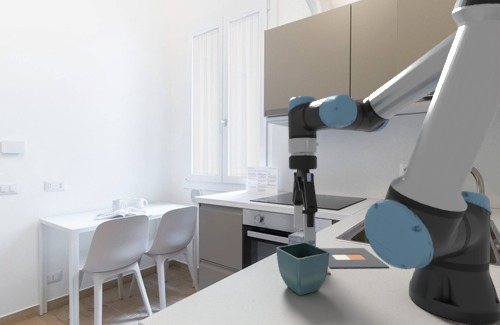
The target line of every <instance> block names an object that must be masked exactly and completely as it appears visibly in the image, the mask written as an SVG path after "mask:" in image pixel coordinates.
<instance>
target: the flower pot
mask: <svg viewBox="0 0 500 325" xmlns="http://www.w3.org/2000/svg"><path fill="white" fill-rule="evenodd" d="M320 248H321V247H317V245H316V246H313V245H311V244H309V243H306V242H303V243H297V244H292V245H281V246H278V247H275V251H276V257H277V266H278V271H279V273H280V277H281V278H282V280H283V282H284V284H285V285H286V287H287V288H288V289H290V290H291V291H293V292H294V293H296V295H297V294H298V295H299V296H304V295H306V294H310V293H314V292H317V291H318V290H320V288H321V287H322V286H323V285H324V282H325V280H326V277H327V275H328V274H327V270H329V267H328V263H329V255H330V253H329V252H328V251H325V250H323V249H320Z"/></svg>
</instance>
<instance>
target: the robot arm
mask: <svg viewBox="0 0 500 325" xmlns="http://www.w3.org/2000/svg"><path fill="white" fill-rule="evenodd" d="M450 16H451V18H452V20H453V21H454V23H455V24H456V25H457V30H455V31H454V32H452V33H451V34H449V35H448V36H447V37H446V38H445V39H443V40H442V41H440V42H439V43H438V44H436V45H435V46H434V47H433V48H431V49H430V50H429V51H427V52H426V53H424V54H423V55H422V56H421V57H419V58H418V59H416V60H415V61H414V62H412V63H411V64H409V65H408V66H407V67H406V68H405V69H404V70H402V71H401V72H399V73H398V74H396V75H395V76H394V77H392V78H391V79H390V80H389V81H387V82H386V83H385V84H383V85H382V86H381V87H379V88H378V89H376V91H373V93H371V94H369V96H367V97H366V98H364V99H363V100H361V101H358V100H355V99H353V98H352V97H351V96H350V95H348V94H347V93H341V94H332V95H329V96H328V97H325V98H322V99H318V100H316V98H315V97H314V96H311V95H300V96H294V97H291V98H290V100H288V112H287V118H288V119H287V120H288V121H287V123H288V124H287V125H288V127H287V128H288V154H289V157H288V168H289V170H292V171H293V170H296V171H294V172H293V185H292V187H293V188H292V199H291V202H292V204H293V229H303V230H304V240H315V232H316V213H318V211H319V209H318V202H317V195H316V188H315V175H314V174H315V173H313V172H310V170H316V169H318V157H317V155H315V154H316V153H317V147H318V146H319V144H320V143H319V142H317V136H318V135H317V132H319V131H325V130H326V131H327V130H336V131H354V132H362V133H376V132H380V131H382V130H384V129H385V128H386V127H387V125H388V124H389V123H390V119H391V118H392V117H395V115H398V113H401V112H402V111H404V110H405V109H407V108H408V107H410V106H412V105H413V104H416V103H417V102H418V101H419V100H421V99H423V98H425V97H426V96H428V95H430V94H431V93H433V92H434V93H433V96H432V98H431V101H430V104H429V106H428V109H427V111H426V115H425V117H424V119H423V123H422V125H421V128H420V130H419V133H418V135H417V139H416V141H415V144H414V147H413V149H412V153H411V154H410V156H409V160H408V163H407V166H406V168H405V172H404V174H402V175H401V176H398V177H396V178H394V179H391V181H390V183H389V186H388V189H387V192H386V194H385V197H384V199H380V200H379V201H377V202H375V203H373V204H372V205H371V206H370V207H369V208H368V209H367V211H366V213H365V216H364V220H363V221H364V223H363V227H364V233H365V237H366V239H368V242H369V245H370V248H371V249H372V251H373V252H374V253H375V255H377V257H378V258H380V259H381V261H382V262H384V263H385V264H386V263H387V264H388V266H389V265H390V266H391V267H394V268H397V269H400V270H410V269H414V271H413V273H412V277H411V279H410V280H409V283H408V295H409V298H410V299H411V301H413V303H414V304H416V305H417V306H418V307H420V308H421V309H424V310H425V311H428V312H430V313H431V314H434V315H436V316H439V317H442V318H445V319H448V320H452V321H455V322H461V323H466V324H476V325H487V324H493V323H496V322H498V321H500V298H499V297H498V293H497V290H496V287H495V284H494V281H493V279H492V277H491V272H490V259H491V258H490V253H491V252H490V250H491V248H490V247H491V215H492V210H491V202H490V198H489V197H488V196H487V195H486V194H485V193H481V192H475V191H468V190H467V191H466V190H463V189H464V187H465V185H466V183H467V180H468V179H469V176H470V174H471V172H472V169H473V167H474V166H475V163H476V161H477V158H478V156H479V154H480V151H481V150H482V147H483V145H484V143H485V141H486V138H487V137H488V134H489V132H490V130H491V127H492V126H493V124H494V121H495V118H496V116H497V114H498V112H499V109H500V0H456V1H455V4H454V6H453V8H452V12H451V15H450Z"/></svg>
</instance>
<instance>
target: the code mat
mask: <svg viewBox="0 0 500 325" xmlns="http://www.w3.org/2000/svg"><path fill="white" fill-rule="evenodd" d="M319 248H320V249H323V250H325V251H328V252H329V253H330V255H329V263H328V269H389V268H390V266H389V265H387V264H386V262H384V261H383V260H382V259H381V260H380V259H379V257H378V256H375V255H374V254H373V253H372V252H370V251H369V250H367V249H365V247H343V248H342V247H340V248H339V247H336V248H335V247H333V248H332V247H330V248H329V247H327V248H326V247H324V248H323V247H322V248H321V247H319Z"/></svg>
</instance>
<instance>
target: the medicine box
mask: <svg viewBox="0 0 500 325" xmlns="http://www.w3.org/2000/svg"><path fill="white" fill-rule="evenodd" d="M287 236H288V238H287V240H288V242H287V244H288V245H292V244H297V243H303V242H306V243H309V244H311V245H313V246H316V247H317V232H316V231H315V240H304V229H301V230H299V231H296V232H294V233H290V234H288V235H287Z"/></svg>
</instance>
